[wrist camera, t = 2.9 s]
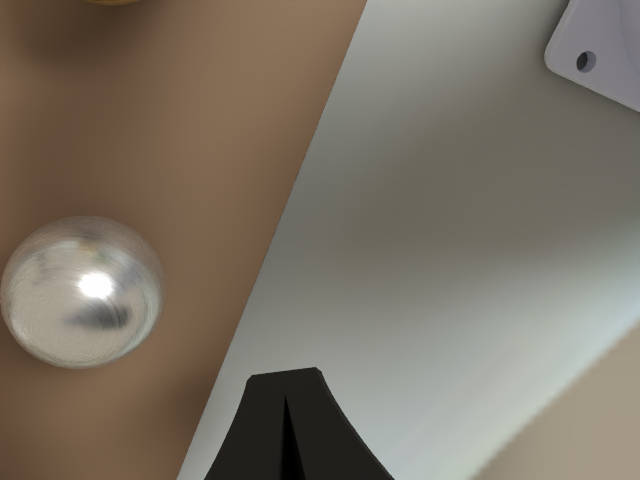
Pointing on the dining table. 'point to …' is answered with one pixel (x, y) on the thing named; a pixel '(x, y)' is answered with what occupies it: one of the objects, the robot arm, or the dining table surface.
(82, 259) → the steel ball
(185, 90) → the walnut board
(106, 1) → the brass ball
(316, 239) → the dining table surface
